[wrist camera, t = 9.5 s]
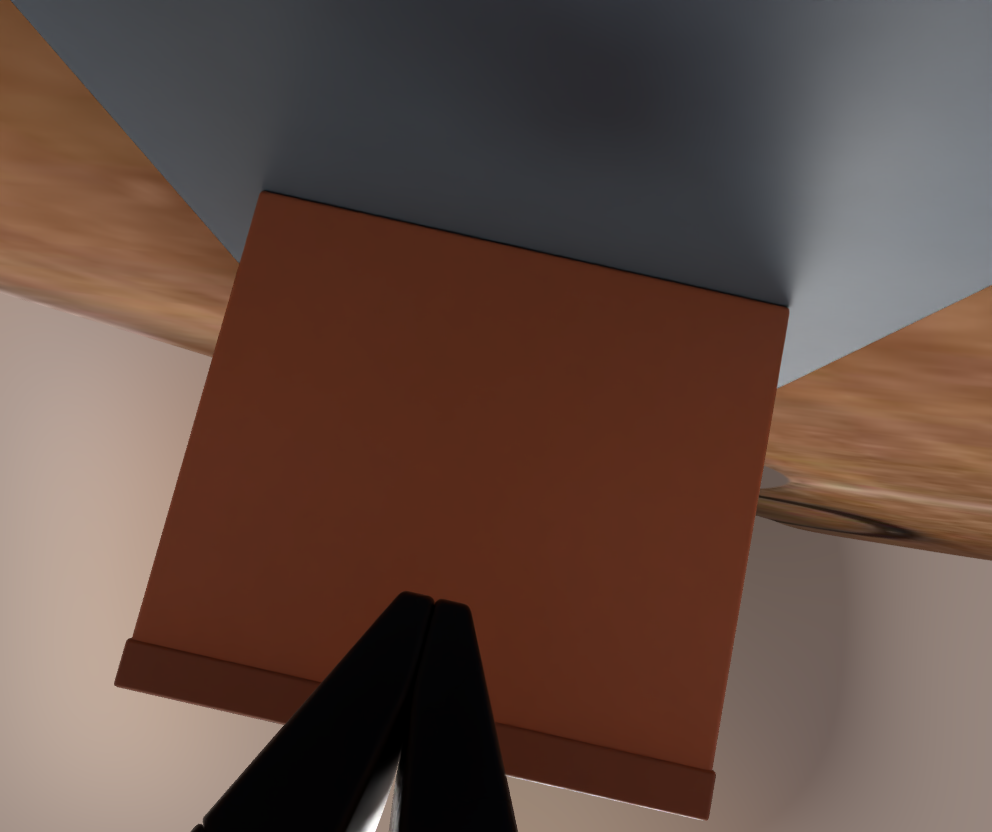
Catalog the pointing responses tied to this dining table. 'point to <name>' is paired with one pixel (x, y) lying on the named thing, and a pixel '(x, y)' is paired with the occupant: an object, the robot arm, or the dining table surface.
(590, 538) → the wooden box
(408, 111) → the mat
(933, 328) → the dining table surface
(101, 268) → the dining table surface
